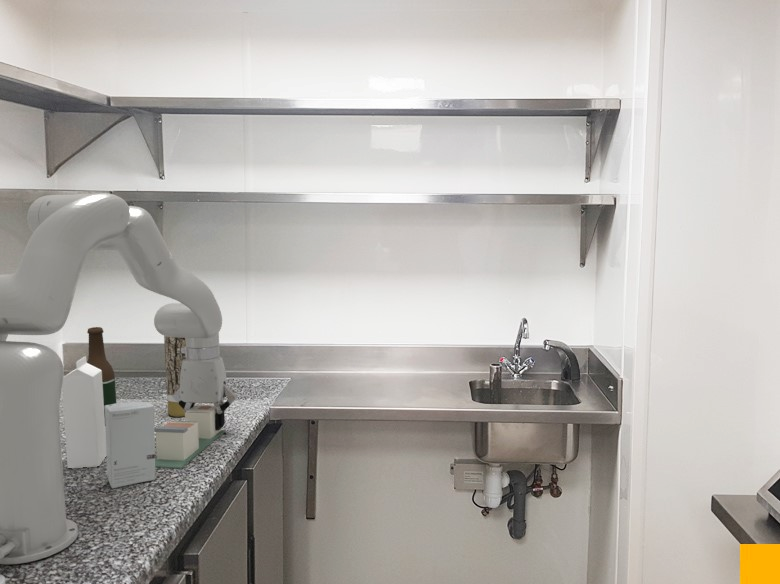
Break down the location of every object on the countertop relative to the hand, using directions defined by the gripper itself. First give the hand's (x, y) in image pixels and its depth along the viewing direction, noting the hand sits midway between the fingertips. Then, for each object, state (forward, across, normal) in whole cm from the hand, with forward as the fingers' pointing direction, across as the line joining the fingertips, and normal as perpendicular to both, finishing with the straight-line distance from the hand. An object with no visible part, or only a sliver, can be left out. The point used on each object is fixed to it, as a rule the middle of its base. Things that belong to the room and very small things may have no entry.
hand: (205, 427), depth 147 cm
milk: (+2, -17, -20) cm, 26 cm away
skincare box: (+2, -3, -27) cm, 27 cm away
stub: (+1, 0, -1) cm, 2 cm away
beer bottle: (+2, -30, +5) cm, 30 cm away
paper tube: (+2, -13, +14) cm, 19 cm away
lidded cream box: (+1, 0, -14) cm, 14 cm away
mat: (+1, 0, -9) cm, 10 cm away
